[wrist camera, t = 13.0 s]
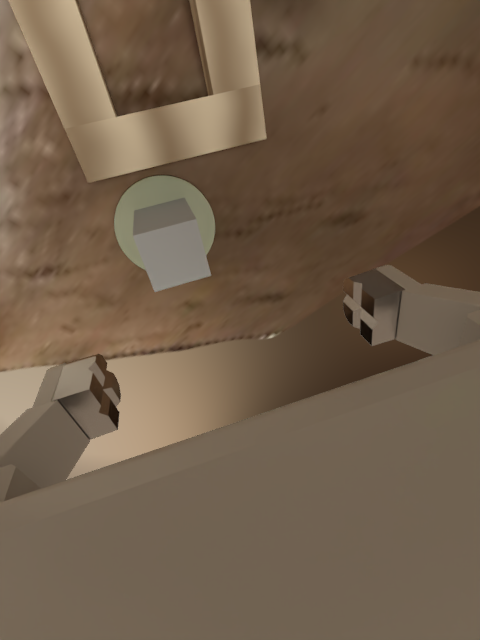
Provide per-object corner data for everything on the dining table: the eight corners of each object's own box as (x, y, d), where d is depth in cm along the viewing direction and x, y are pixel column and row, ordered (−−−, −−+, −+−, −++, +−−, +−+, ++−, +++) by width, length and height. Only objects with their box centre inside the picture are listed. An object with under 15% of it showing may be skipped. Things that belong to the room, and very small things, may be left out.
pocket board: (222, -132, 21) (230, -157, 19) (258, 137, 31) (266, 138, 28) (-25, -95, 20) (-44, -119, 18) (91, 178, 29) (88, 183, 27)
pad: (200, 163, 30) (201, 164, 30) (223, 258, 36) (224, 260, 36) (96, 189, 29) (96, 191, 29) (136, 283, 35) (136, 285, 35)
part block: (184, 197, 31) (196, 219, 25) (197, 244, 34) (211, 275, 27) (134, 210, 31) (132, 235, 24) (151, 257, 33) (154, 292, 27)
